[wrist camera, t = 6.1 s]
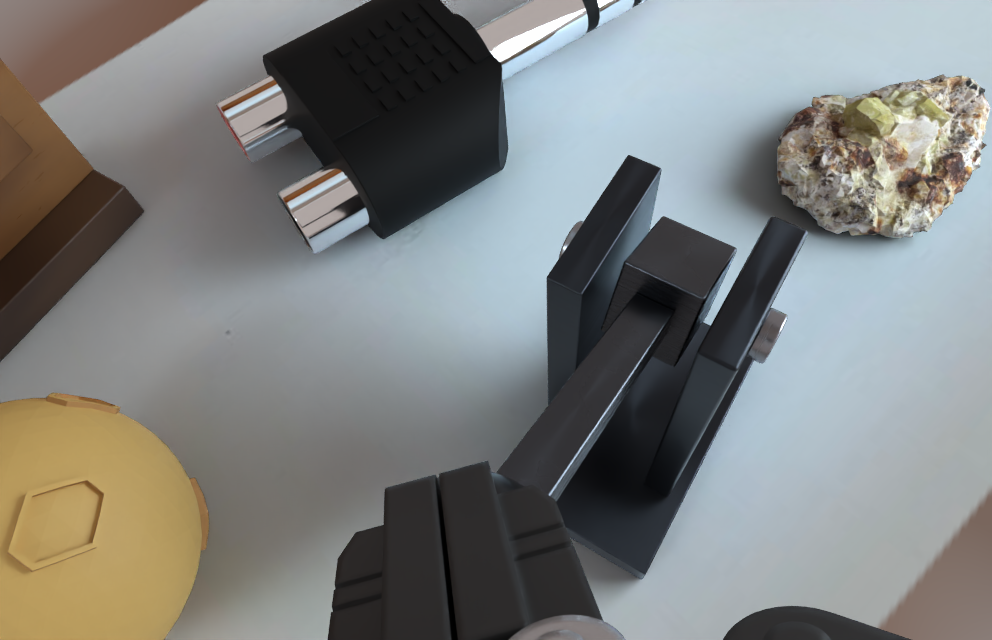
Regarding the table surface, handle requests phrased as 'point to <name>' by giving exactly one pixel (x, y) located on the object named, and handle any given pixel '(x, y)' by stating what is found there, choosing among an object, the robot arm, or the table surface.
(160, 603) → the stress ball
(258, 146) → the audio adapter
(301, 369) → the table surface
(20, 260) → the door
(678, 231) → the lever
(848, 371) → the table surface
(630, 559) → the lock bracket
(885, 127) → the mineral rock
